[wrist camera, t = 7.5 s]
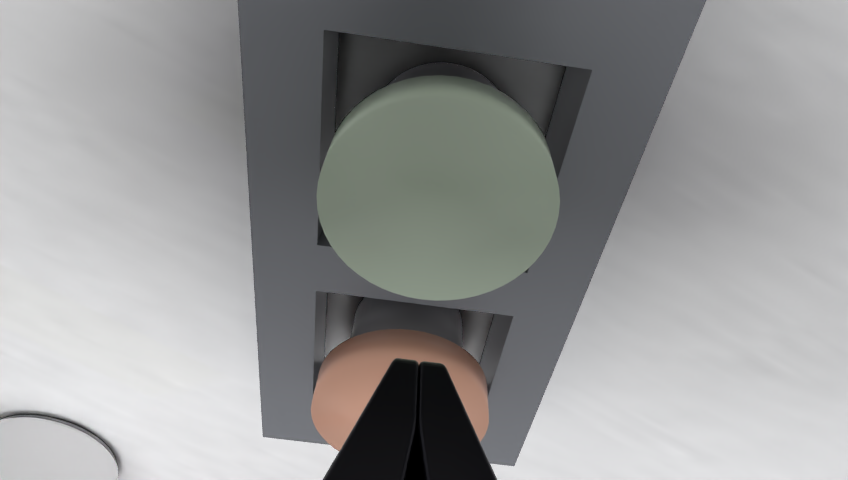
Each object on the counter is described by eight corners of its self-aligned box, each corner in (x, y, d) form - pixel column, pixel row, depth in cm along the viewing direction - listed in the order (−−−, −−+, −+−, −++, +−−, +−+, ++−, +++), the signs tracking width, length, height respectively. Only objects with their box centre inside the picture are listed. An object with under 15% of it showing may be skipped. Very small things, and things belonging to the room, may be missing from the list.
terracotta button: (497, 277, 20) (506, 372, 17) (468, 380, 23) (471, 477, 20) (336, 256, 20) (312, 348, 16) (330, 364, 23) (309, 459, 20)
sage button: (562, 49, 15) (592, 118, 12) (513, 221, 19) (526, 312, 15) (350, 17, 15) (319, 78, 12) (340, 197, 18) (314, 285, 15)
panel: (867, -557, 9) (973, -650, 7) (509, 415, 25) (514, 466, 23) (247, -685, 9) (191, -819, 7) (277, 387, 25) (262, 436, 23)
